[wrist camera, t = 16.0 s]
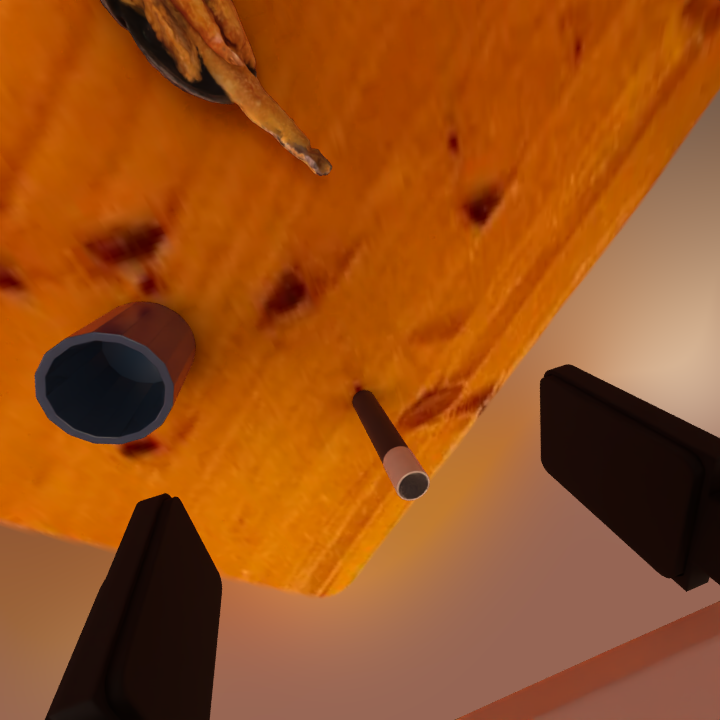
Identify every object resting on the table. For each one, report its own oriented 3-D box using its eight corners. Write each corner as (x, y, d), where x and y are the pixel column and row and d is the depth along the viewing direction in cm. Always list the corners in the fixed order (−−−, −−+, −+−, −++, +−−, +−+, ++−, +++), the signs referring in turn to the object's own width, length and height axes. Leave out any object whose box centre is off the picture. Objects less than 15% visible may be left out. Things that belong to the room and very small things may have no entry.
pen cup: (177, 291, 30) (145, 319, 21) (207, 372, 32) (190, 424, 24) (80, 314, 28) (8, 351, 20) (120, 396, 31) (71, 458, 23)
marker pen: (372, 386, 36) (427, 466, 25) (376, 407, 37) (431, 494, 25) (349, 393, 36) (394, 477, 24) (354, 414, 37) (399, 505, 25)
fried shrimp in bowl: (78, -327, 16) (423, -58, 18) (158, -28, 27) (369, 126, 28) (-102, -237, 14) (312, 66, 15) (64, 51, 25) (299, 215, 26)
